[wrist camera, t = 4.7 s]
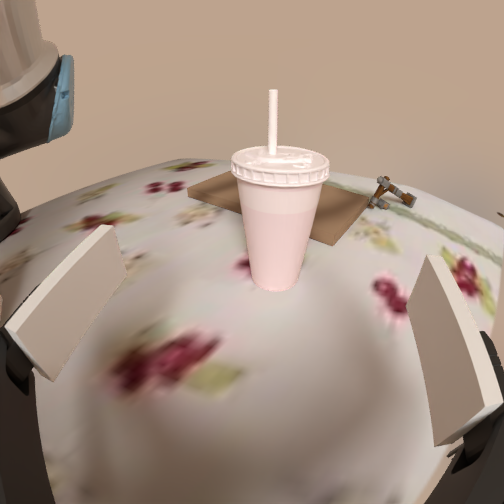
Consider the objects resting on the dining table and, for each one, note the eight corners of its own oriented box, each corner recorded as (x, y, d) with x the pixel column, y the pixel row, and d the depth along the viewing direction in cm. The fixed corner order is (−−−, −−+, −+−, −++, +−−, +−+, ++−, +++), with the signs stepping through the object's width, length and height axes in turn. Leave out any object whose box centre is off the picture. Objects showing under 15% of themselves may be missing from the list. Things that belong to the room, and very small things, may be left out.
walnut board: (188, 196, 37) (187, 188, 36) (244, 172, 45) (244, 165, 44) (332, 246, 27) (334, 235, 26) (367, 205, 35) (369, 197, 34)
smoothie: (249, 248, 26) (248, 88, 18) (319, 260, 25) (337, 93, 17) (222, 293, 21) (210, 91, 13) (307, 311, 20) (333, 95, 12)
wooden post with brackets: (360, 201, 34) (376, 170, 32) (394, 218, 37) (409, 191, 35) (369, 207, 32) (386, 175, 30) (403, 224, 36) (417, 196, 34)
